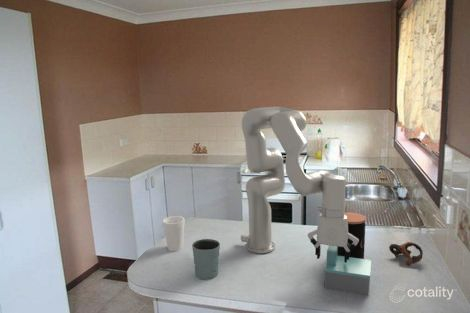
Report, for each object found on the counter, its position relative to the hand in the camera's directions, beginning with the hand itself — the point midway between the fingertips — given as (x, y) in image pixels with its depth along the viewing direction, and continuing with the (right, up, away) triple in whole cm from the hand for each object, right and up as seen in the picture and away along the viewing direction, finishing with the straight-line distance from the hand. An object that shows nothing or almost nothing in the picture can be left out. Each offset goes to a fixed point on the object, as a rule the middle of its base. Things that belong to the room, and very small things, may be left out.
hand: (332, 259), depth 131 cm
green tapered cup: (-44, -9, +11) cm, 46 cm away
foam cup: (-60, -5, +34) cm, 69 cm away
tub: (+5, -9, 0) cm, 11 cm away
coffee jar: (+12, -6, +18) cm, 23 cm away
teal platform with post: (+5, -4, -1) cm, 7 cm away
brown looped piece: (+33, -5, +18) cm, 38 cm away
